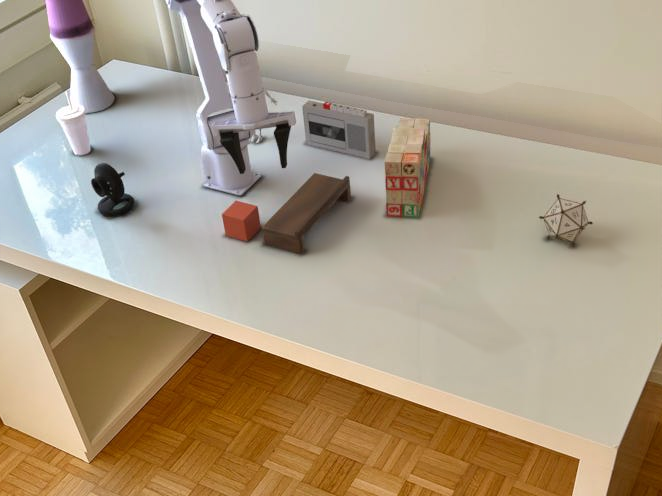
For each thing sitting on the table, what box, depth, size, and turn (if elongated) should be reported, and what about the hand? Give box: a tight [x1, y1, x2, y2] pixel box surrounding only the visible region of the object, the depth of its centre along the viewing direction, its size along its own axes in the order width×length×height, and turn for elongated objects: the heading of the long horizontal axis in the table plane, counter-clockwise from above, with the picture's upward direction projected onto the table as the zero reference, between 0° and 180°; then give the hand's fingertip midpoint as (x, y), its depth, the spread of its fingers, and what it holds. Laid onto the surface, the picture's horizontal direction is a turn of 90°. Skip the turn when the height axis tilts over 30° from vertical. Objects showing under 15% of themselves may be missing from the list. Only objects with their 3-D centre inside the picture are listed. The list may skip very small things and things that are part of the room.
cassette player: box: [301, 100, 377, 160], centre depth 184 cm, size 16×3×10 cm, turn 59°
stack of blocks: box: [384, 117, 431, 219], centre depth 171 cm, size 21×6×12 cm, turn 168°
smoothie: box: [55, 90, 92, 156], centre depth 191 cm, size 6×6×14 cm
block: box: [221, 200, 262, 242], centre depth 167 cm, size 5×5×5 cm
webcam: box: [90, 162, 135, 218], centre depth 175 cm, size 8×8×10 cm
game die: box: [538, 193, 594, 247], centre depth 156 cm, size 9×8×10 cm
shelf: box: [261, 172, 352, 255], centre depth 168 cm, size 8×20×5 cm, turn 151°
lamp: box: [45, 0, 115, 114], centre depth 199 cm, size 11×11×40 cm
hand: (263, 169), depth 156 cm, fingers open, 7 cm apart
